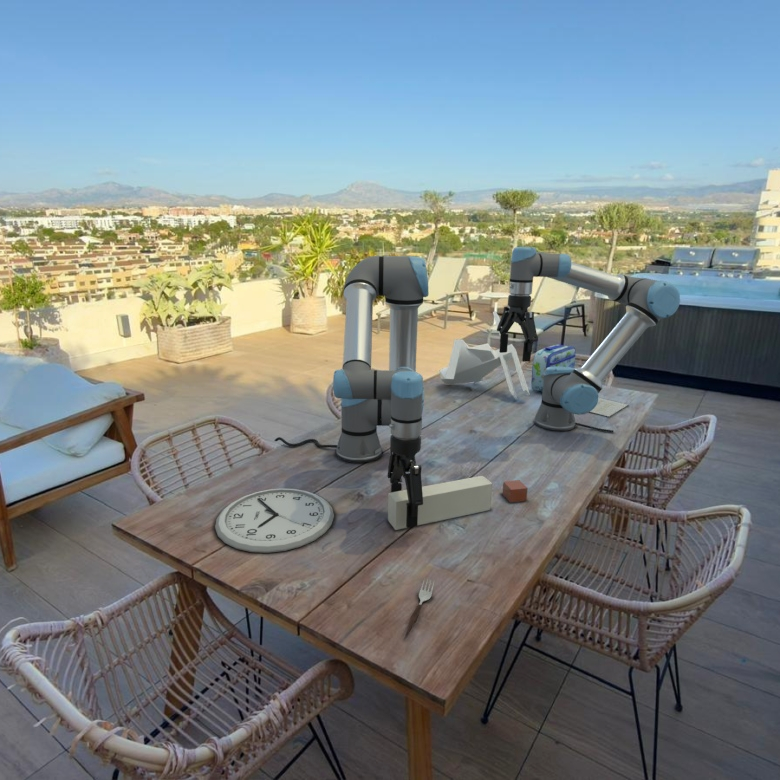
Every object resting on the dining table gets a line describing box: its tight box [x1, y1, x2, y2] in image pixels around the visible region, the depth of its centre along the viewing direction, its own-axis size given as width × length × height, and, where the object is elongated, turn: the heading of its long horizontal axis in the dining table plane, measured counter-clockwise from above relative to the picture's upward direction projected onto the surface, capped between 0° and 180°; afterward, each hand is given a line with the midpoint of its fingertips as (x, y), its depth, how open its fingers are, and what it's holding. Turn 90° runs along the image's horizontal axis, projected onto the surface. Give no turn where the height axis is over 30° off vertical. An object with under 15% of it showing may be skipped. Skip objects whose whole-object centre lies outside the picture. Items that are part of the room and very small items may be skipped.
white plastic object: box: [438, 310, 531, 400], centre depth 245 cm, size 37×45×31 cm
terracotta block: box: [502, 479, 528, 503], centre depth 148 cm, size 5×5×4 cm
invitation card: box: [589, 397, 629, 418], centre depth 226 cm, size 21×1×15 cm
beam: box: [387, 475, 493, 531], centre depth 138 cm, size 28×5×8 cm, turn 112°
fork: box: [405, 577, 435, 637], centre depth 104 cm, size 3×16×2 cm, turn 160°
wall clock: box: [214, 488, 335, 554], centre depth 135 cm, size 30×2×30 cm
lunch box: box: [530, 344, 577, 392], centre depth 247 cm, size 26×11×21 cm, turn 134°
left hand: (403, 515), depth 134 cm, fingers open, 9 cm apart
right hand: (514, 356), depth 181 cm, fingers open, 13 cm apart
